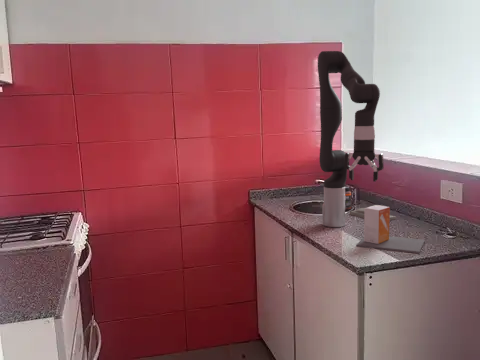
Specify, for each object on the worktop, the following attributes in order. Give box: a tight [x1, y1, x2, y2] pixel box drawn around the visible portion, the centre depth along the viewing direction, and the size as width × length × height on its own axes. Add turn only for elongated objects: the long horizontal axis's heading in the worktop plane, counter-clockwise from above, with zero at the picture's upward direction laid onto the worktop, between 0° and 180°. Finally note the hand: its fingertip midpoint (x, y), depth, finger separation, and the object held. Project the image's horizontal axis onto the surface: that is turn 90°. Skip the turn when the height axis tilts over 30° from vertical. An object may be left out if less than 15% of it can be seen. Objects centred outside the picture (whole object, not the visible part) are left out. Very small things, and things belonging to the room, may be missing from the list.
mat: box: [356, 235, 426, 254], centre depth 170 cm, size 22×16×1 cm
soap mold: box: [349, 207, 397, 221], centre depth 213 cm, size 10×20×4 cm, turn 30°
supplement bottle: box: [345, 186, 352, 211], centre depth 232 cm, size 6×6×11 cm
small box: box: [363, 204, 391, 244], centre depth 171 cm, size 8×6×13 cm
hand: (363, 180), depth 172 cm, fingers open, 8 cm apart
